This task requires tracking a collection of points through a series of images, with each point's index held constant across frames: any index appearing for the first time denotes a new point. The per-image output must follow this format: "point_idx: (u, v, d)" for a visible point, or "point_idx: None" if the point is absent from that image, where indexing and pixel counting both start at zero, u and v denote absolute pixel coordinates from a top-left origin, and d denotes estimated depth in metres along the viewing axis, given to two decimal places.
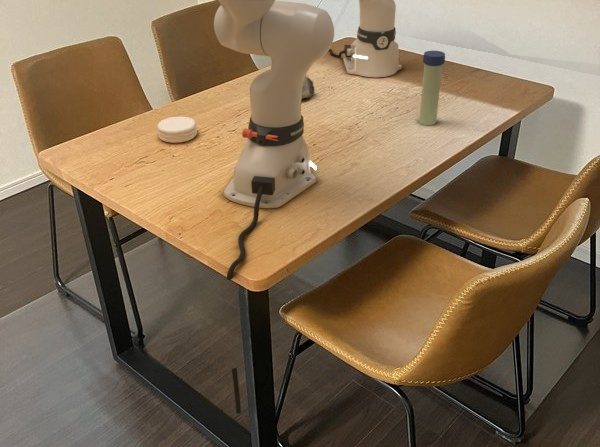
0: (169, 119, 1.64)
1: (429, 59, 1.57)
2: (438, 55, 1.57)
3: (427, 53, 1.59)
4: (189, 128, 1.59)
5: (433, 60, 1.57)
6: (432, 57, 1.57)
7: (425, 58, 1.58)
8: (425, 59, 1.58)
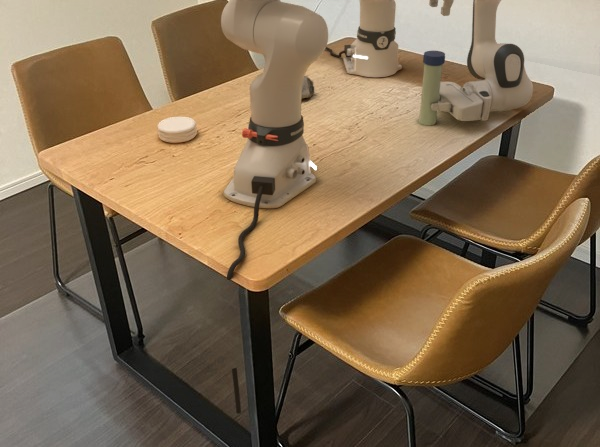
0: (169, 119, 1.64)
1: (429, 59, 1.57)
2: (438, 55, 1.57)
3: (427, 53, 1.59)
4: (189, 128, 1.59)
5: (433, 60, 1.57)
6: (432, 57, 1.57)
7: (425, 58, 1.58)
8: (425, 59, 1.58)
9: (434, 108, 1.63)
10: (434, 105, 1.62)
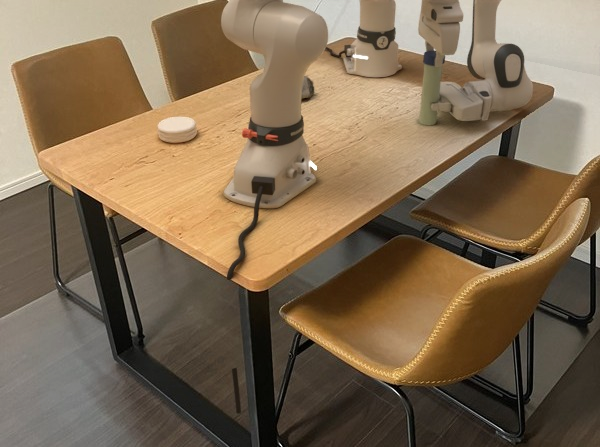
0: (169, 119, 1.64)
1: (429, 59, 1.57)
2: None
3: (427, 53, 1.59)
4: (189, 128, 1.59)
5: (433, 60, 1.57)
6: (432, 57, 1.57)
7: (425, 58, 1.58)
8: (425, 59, 1.59)
9: (434, 108, 1.63)
10: (434, 105, 1.62)
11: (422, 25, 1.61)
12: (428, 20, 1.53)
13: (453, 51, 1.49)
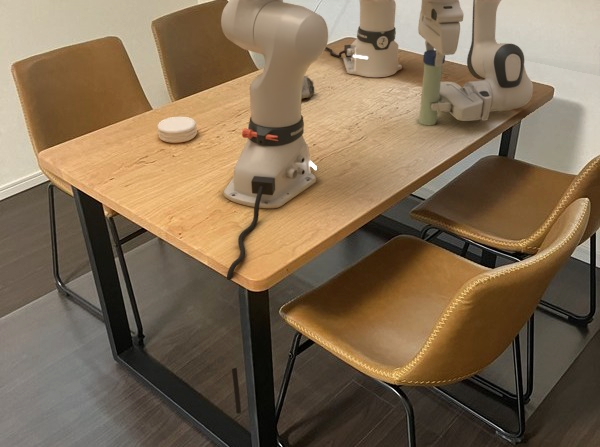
0: (169, 119, 1.64)
1: (444, 58, 1.58)
2: None
3: (435, 55, 1.57)
4: (189, 128, 1.59)
5: (444, 57, 1.59)
6: None
7: None
8: None
9: (434, 108, 1.63)
10: (434, 105, 1.62)
11: (422, 25, 1.61)
12: (428, 20, 1.53)
13: (453, 51, 1.49)
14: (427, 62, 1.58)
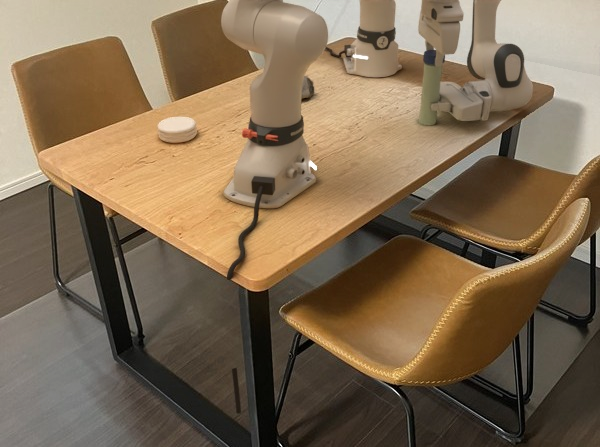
0: (169, 119, 1.64)
1: None
2: (430, 51, 1.60)
3: None
4: (189, 128, 1.59)
5: None
6: None
7: None
8: None
9: (434, 108, 1.63)
10: (434, 105, 1.62)
11: (422, 24, 1.61)
12: (428, 19, 1.53)
13: (453, 50, 1.49)
14: None
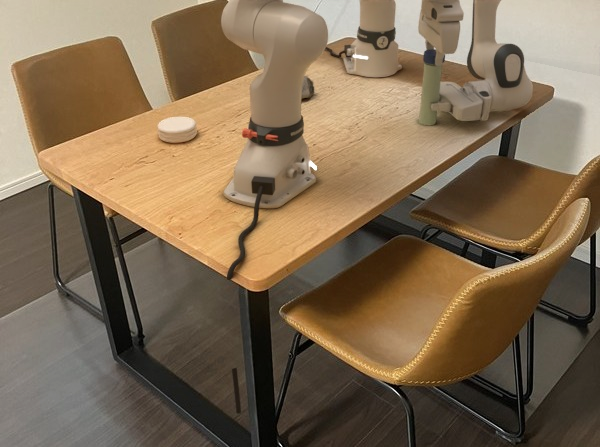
0: (169, 119, 1.64)
1: None
2: (429, 53, 1.58)
3: (433, 50, 1.60)
4: (189, 128, 1.59)
5: (424, 55, 1.59)
6: (424, 52, 1.59)
7: None
8: None
9: (434, 108, 1.63)
10: (434, 105, 1.62)
11: (422, 24, 1.61)
12: (428, 19, 1.53)
13: (453, 50, 1.48)
14: None
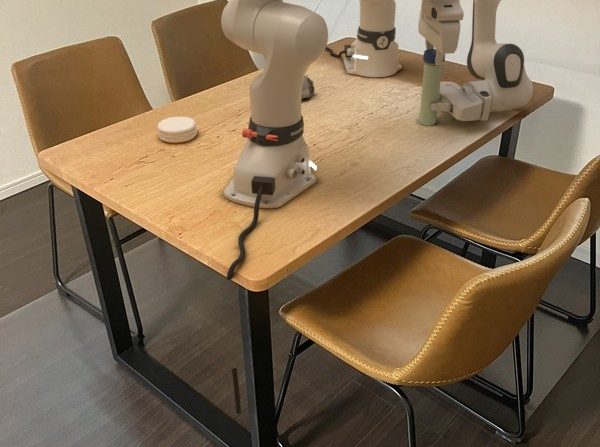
0: (169, 119, 1.64)
1: (431, 58, 1.57)
2: None
3: (427, 52, 1.58)
4: (189, 128, 1.59)
5: None
6: (434, 55, 1.56)
7: (426, 57, 1.58)
8: (426, 58, 1.58)
9: (434, 108, 1.63)
10: (434, 105, 1.62)
11: (422, 24, 1.61)
12: (428, 18, 1.53)
13: (453, 49, 1.48)
14: None
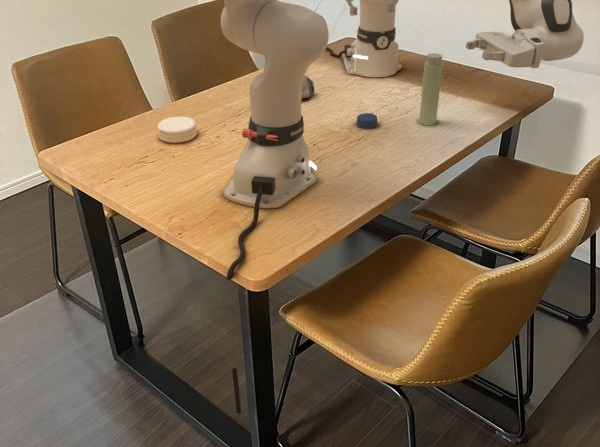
0: (169, 119, 1.64)
1: None
2: (362, 115, 1.68)
3: (373, 116, 1.67)
4: (189, 128, 1.59)
5: None
6: None
7: None
8: None
9: (487, 57, 1.57)
10: (487, 54, 1.56)
11: None
12: None
13: None
14: (375, 125, 1.66)
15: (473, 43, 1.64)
